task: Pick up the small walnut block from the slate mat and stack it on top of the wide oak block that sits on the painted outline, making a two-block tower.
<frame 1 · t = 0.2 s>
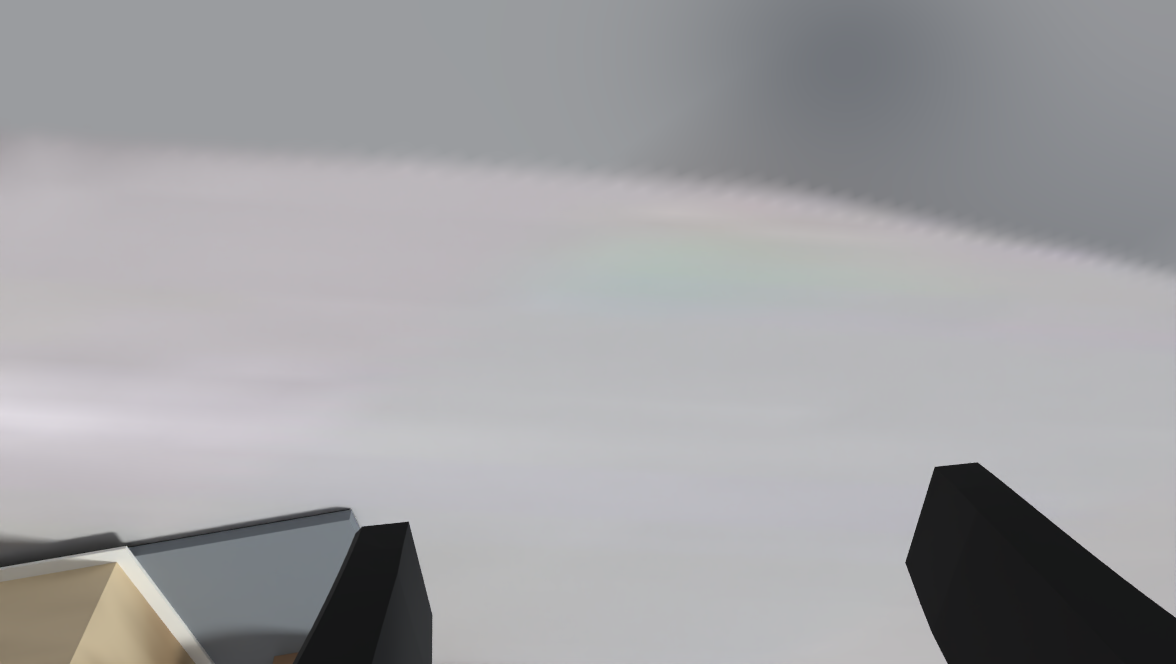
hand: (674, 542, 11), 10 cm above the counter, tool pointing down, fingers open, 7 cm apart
slate mat: (219, 655, 28), on the counter
oak base: (69, 636, 25), resting on slate mat
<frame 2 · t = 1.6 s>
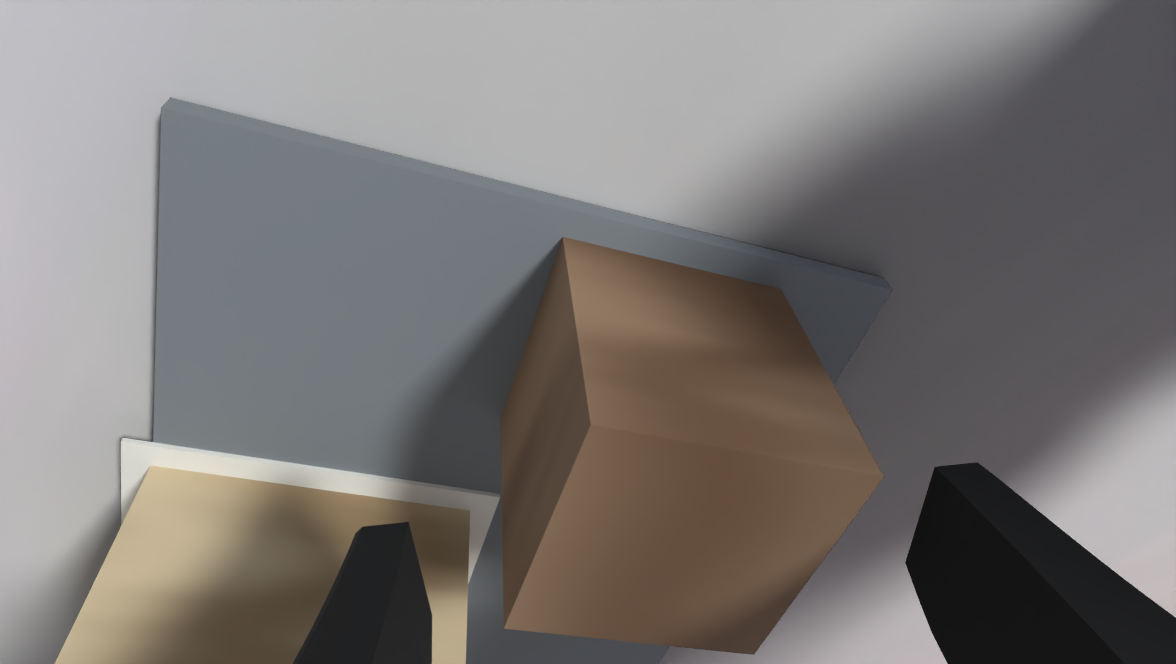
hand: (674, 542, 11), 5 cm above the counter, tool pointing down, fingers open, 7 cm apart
slate mat: (476, 475, 16), on the counter
walnut block: (635, 355, 14), resting on slate mat
oak base: (300, 584, 17), resting on slate mat
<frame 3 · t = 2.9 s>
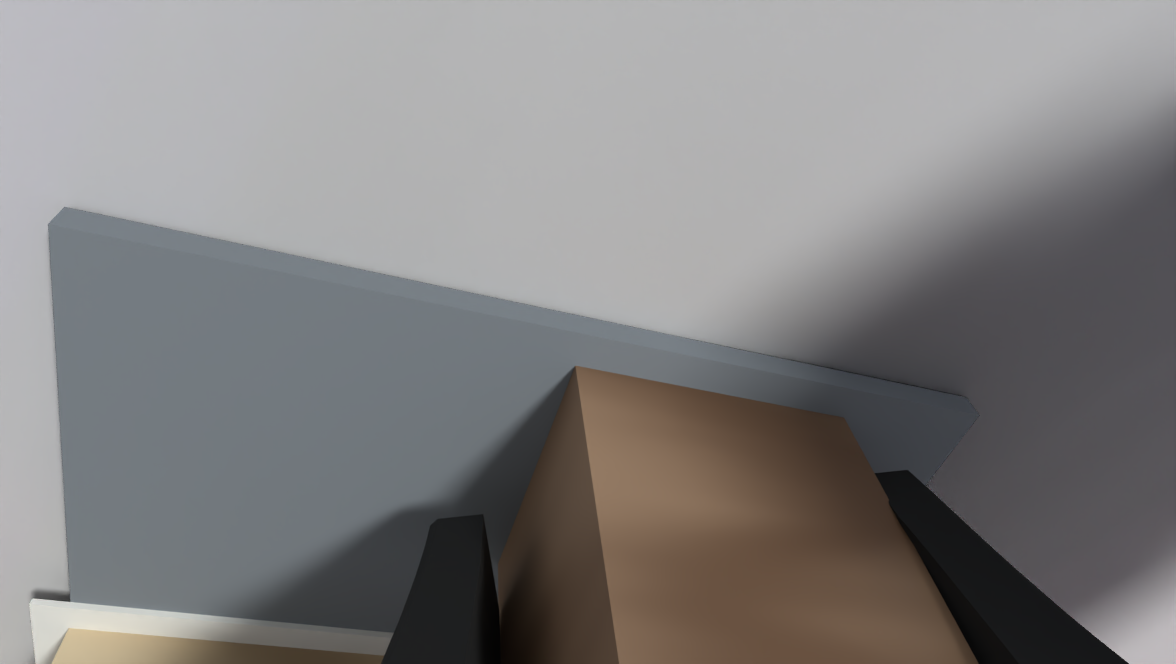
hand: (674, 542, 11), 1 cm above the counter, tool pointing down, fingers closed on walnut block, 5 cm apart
slate mat: (468, 619, 14), on the counter
walnut block: (663, 494, 12), resting on slate mat, touching gripper
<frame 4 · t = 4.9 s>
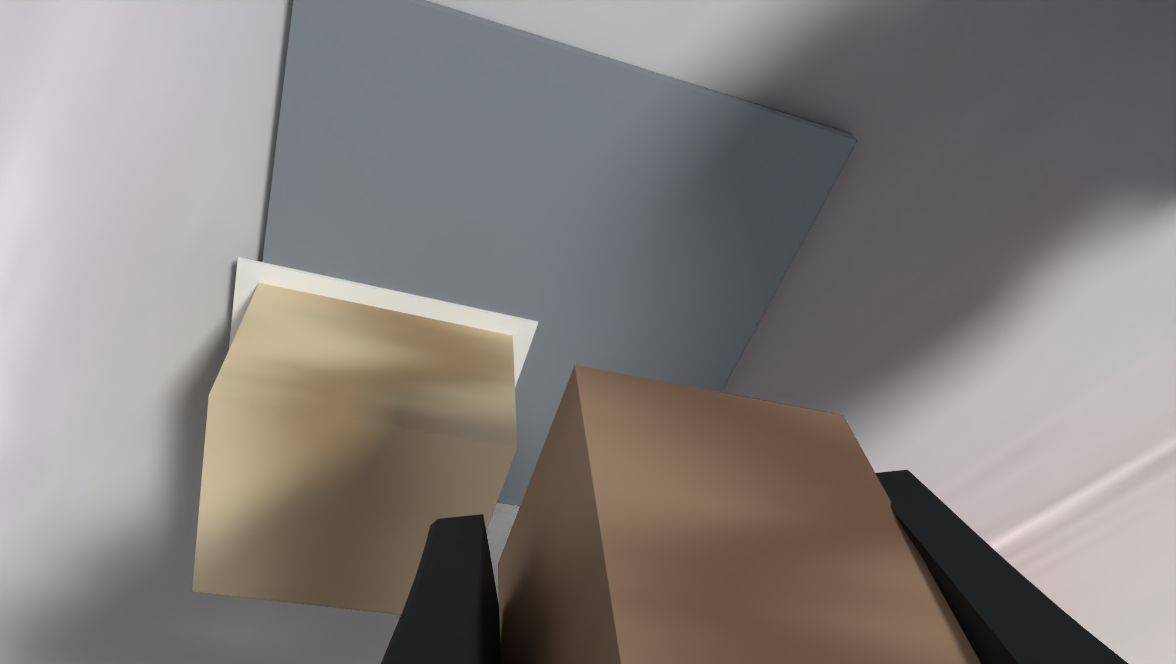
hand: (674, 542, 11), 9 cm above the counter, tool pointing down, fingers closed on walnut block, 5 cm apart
slate mat: (517, 308, 20), on the counter
walnut block: (662, 492, 12), point 9 cm above the counter, touching gripper
oak base: (369, 403, 20), resting on slate mat
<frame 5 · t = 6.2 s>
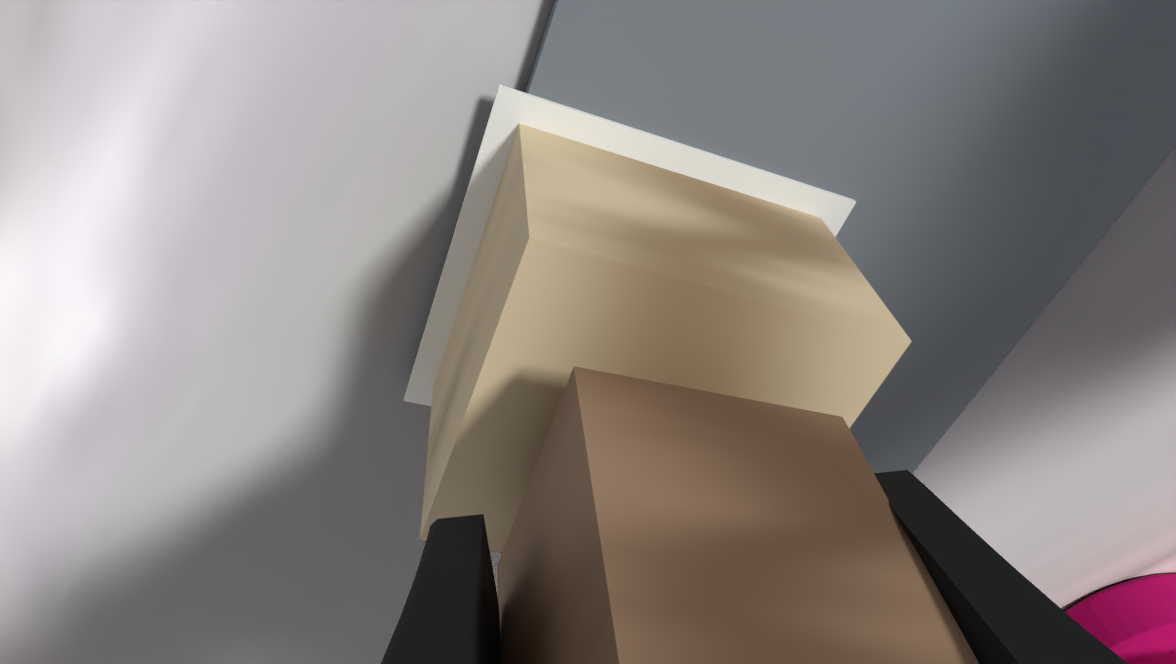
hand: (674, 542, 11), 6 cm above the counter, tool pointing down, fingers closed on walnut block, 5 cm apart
pepper mill: (1119, 626, 26), on the counter
slate mat: (824, 183, 15), on the counter
walnut block: (662, 494, 12), point 6 cm above the counter, touching gripper
oak base: (618, 306, 16), resting on slate mat
when the fingers open (6 cm above the counter, at t = 7.1 s): walnut block moves 1 cm, resting on oak base.
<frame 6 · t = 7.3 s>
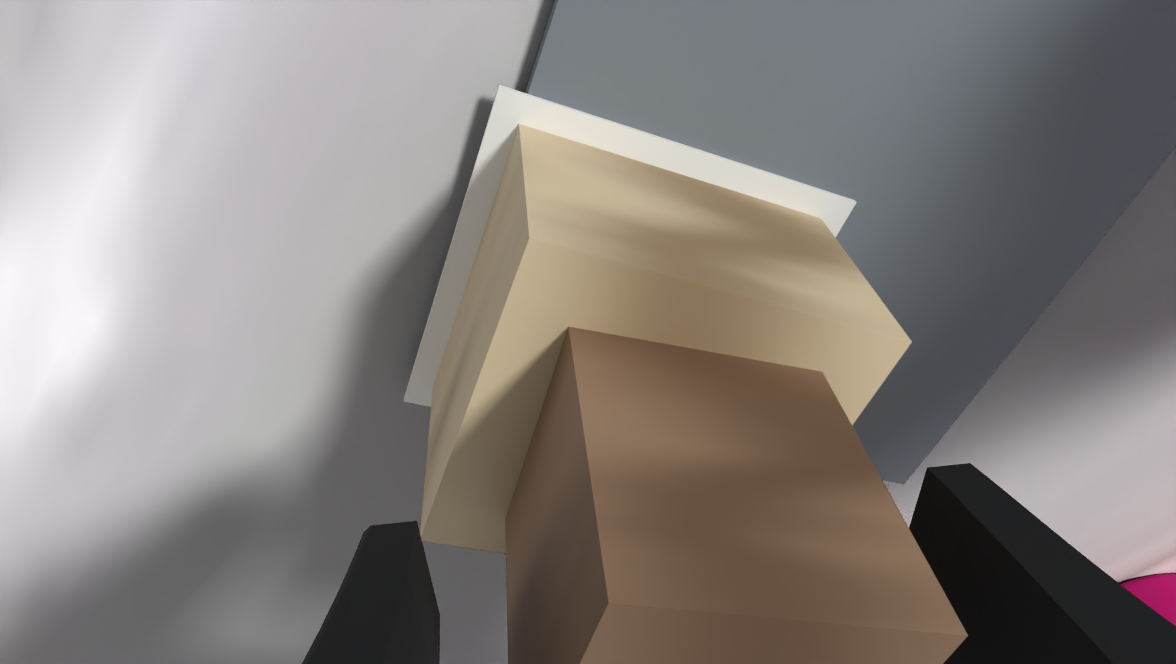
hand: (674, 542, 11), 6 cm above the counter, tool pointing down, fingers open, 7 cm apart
pepper mill: (1119, 626, 26), on the counter
slate mat: (824, 183, 15), on the counter
walnut block: (656, 448, 13), point 4 cm above the counter, touching oak base
oak base: (618, 307, 16), resting on slate mat, touching walnut block
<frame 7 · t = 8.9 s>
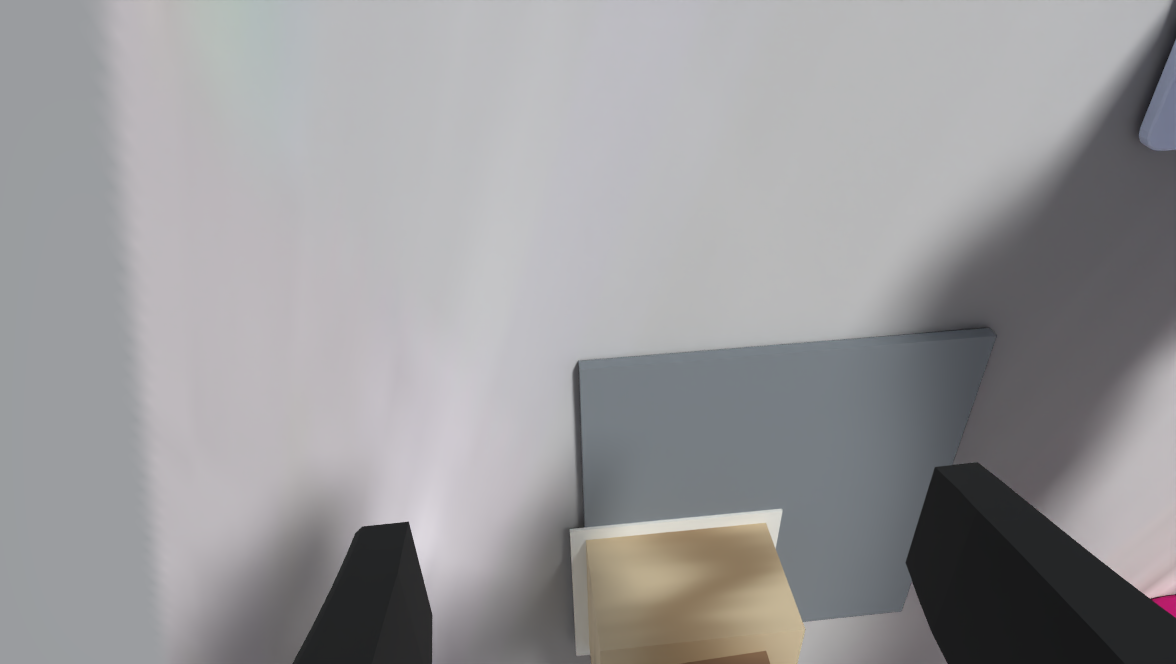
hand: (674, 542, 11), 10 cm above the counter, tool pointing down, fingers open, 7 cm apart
pepper mill: (1141, 633, 34), on the counter
slate mat: (763, 500, 26), on the counter
oak base: (672, 588, 28), resting on slate mat, touching walnut block
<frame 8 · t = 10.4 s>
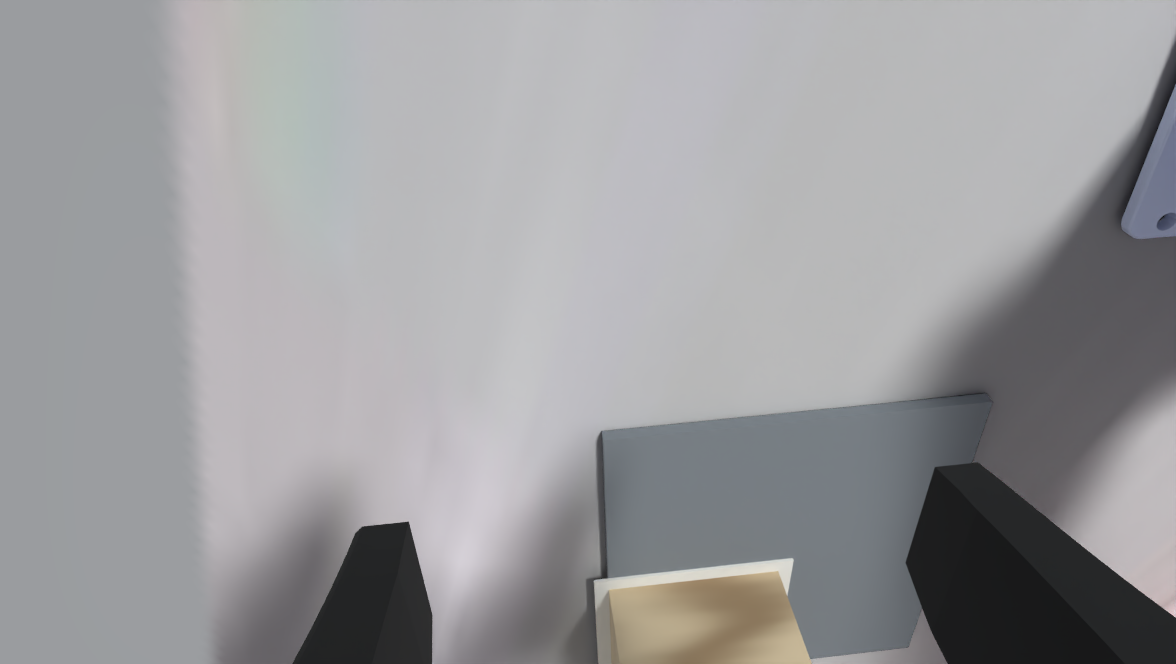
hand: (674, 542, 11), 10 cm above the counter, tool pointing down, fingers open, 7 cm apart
slate mat: (775, 550, 28), on the counter
oak base: (690, 631, 29), resting on slate mat, touching walnut block
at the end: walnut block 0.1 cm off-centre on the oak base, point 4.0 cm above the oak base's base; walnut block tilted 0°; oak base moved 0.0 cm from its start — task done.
